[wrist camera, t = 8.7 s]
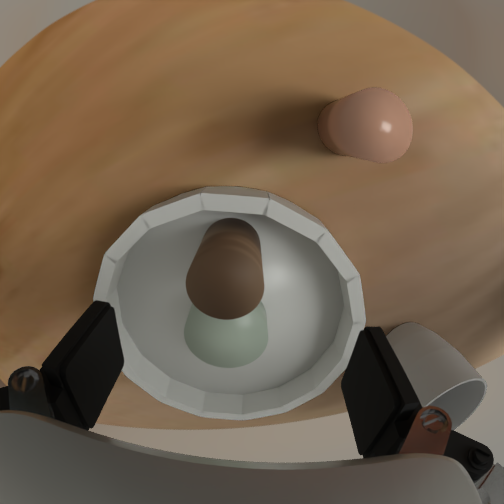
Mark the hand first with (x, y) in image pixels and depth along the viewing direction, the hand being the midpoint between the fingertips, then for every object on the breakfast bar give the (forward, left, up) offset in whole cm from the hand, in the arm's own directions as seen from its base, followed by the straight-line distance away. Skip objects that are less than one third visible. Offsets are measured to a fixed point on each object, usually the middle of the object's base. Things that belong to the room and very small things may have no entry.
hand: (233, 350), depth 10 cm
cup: (-16, +9, -12) cm, 22 cm away
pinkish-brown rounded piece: (-6, -9, -12) cm, 16 cm away
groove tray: (+1, +6, -12) cm, 13 cm away
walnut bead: (+1, 0, -11) cm, 11 cm away
